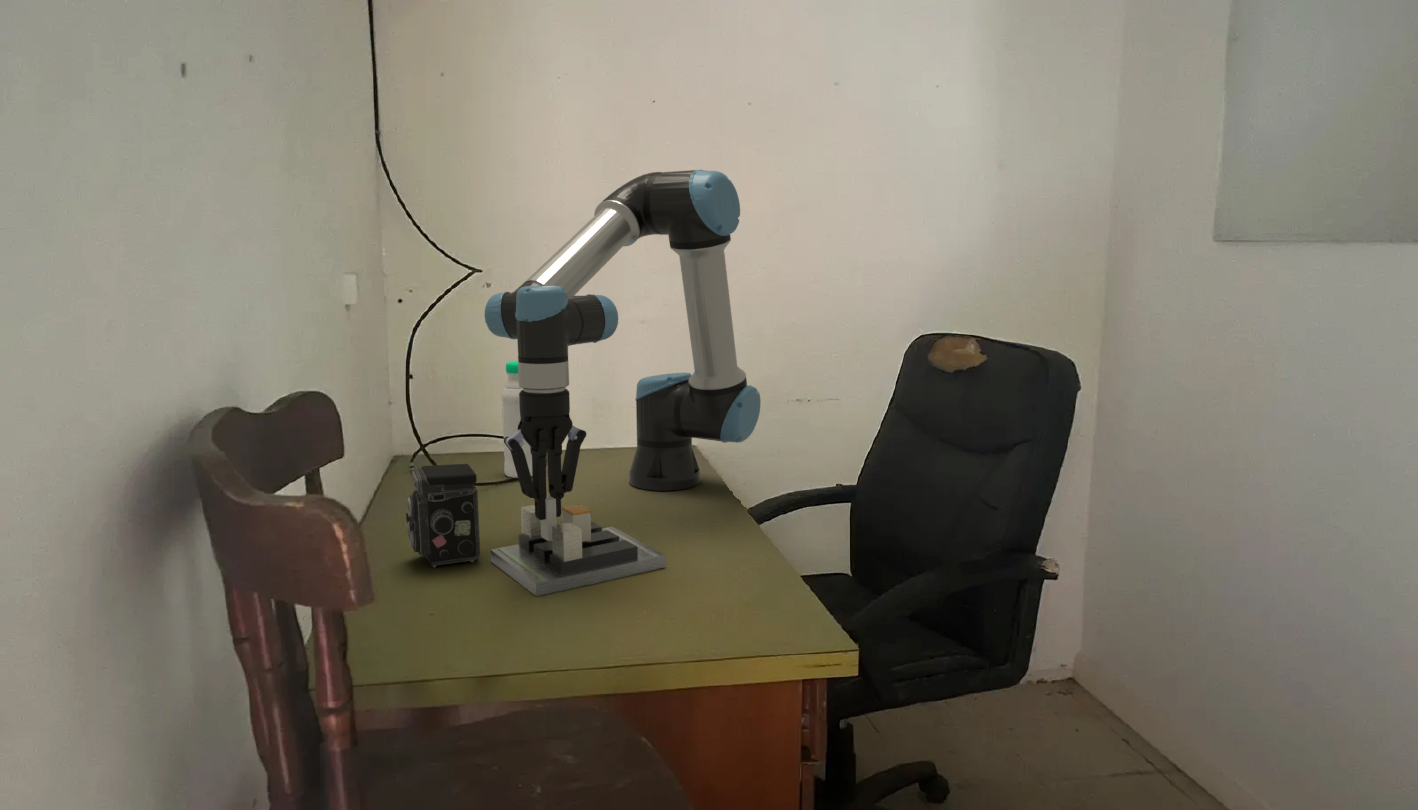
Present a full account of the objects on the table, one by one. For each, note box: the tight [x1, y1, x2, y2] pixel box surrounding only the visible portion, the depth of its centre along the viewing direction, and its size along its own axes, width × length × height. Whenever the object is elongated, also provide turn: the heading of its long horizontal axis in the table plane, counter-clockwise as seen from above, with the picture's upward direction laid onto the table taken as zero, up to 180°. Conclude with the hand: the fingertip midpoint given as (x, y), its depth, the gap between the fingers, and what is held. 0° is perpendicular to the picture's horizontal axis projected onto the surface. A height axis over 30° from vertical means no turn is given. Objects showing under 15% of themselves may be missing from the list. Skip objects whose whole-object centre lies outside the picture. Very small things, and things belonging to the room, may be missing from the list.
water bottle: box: [501, 360, 532, 479], centre depth 204 cm, size 7×7×25 cm
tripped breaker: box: [561, 503, 592, 542], centre depth 149 cm, size 3×4×5 cm
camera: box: [405, 463, 481, 568], centre depth 151 cm, size 10×10×15 cm
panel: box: [490, 504, 667, 597], centre depth 149 cm, size 22×18×8 cm
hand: (549, 537), depth 146 cm, fingers closed
